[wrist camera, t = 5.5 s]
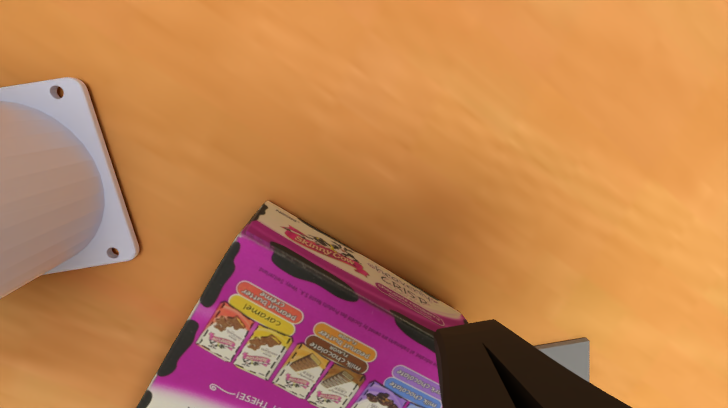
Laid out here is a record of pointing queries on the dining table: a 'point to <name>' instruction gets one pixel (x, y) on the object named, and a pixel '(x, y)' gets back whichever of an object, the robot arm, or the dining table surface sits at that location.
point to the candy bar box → (303, 329)
